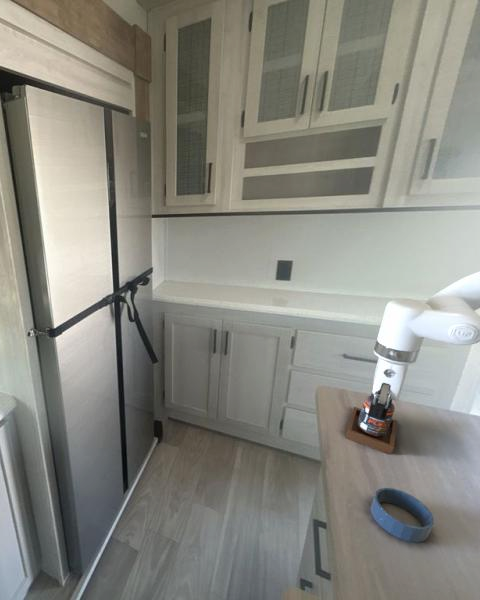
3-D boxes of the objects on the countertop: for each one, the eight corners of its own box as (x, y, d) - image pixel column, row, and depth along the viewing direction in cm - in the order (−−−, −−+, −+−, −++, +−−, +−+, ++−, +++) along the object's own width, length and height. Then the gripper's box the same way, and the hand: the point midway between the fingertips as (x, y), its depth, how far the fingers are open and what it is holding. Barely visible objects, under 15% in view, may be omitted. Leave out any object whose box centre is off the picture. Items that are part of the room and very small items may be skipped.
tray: (352, 413, 94) (353, 406, 93) (395, 427, 88) (397, 420, 87) (345, 437, 87) (347, 430, 86) (391, 455, 81) (394, 447, 80)
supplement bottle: (363, 436, 85) (374, 401, 81) (352, 420, 91) (361, 386, 86) (391, 439, 84) (403, 403, 80) (378, 422, 89) (388, 388, 85)
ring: (406, 506, 69) (413, 490, 68) (437, 549, 62) (446, 532, 60) (360, 502, 71) (365, 485, 69) (385, 542, 64) (392, 525, 62)
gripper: (416, 373, 70) (394, 437, 77) (419, 339, 81) (399, 398, 88) (370, 361, 75) (353, 423, 82) (378, 331, 86) (363, 388, 93)
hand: (377, 409), depth 85 cm, fingers closed on supplement bottle, 6 cm apart
